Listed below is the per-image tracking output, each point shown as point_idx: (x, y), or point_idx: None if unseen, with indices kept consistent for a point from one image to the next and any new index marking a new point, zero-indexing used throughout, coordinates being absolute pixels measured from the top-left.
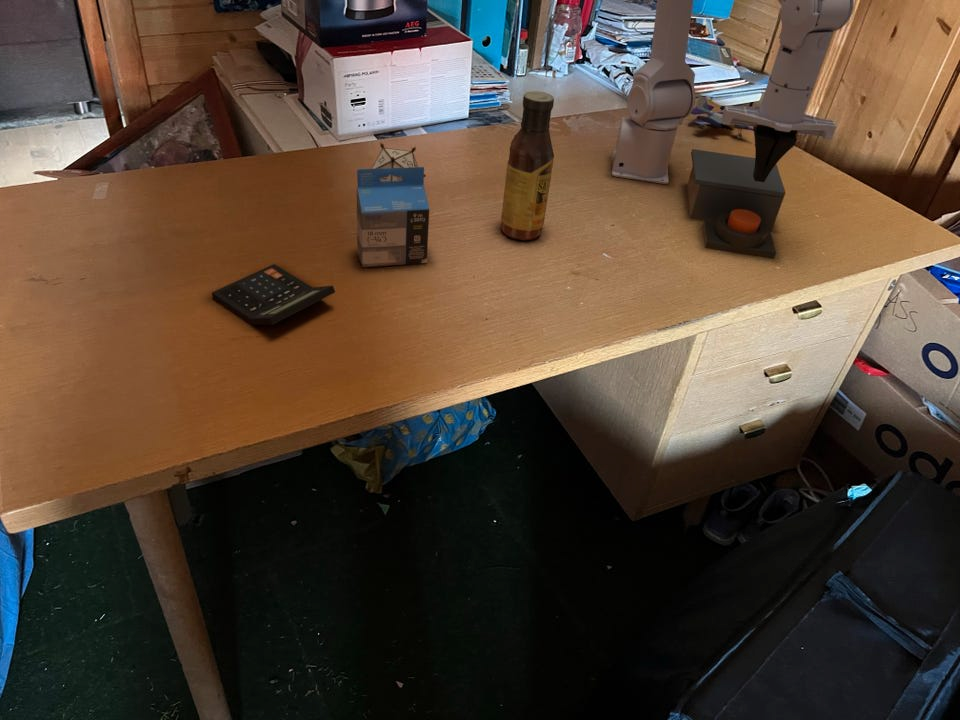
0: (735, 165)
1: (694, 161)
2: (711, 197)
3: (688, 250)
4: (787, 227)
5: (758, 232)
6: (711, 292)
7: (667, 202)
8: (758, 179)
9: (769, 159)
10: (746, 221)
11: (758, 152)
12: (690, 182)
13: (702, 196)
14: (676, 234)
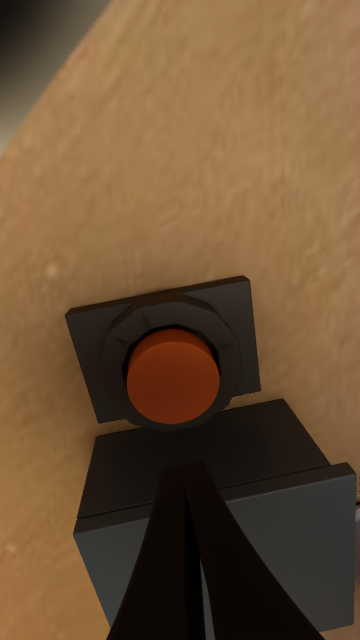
0: None
1: (353, 568)
2: (274, 448)
3: (283, 244)
4: (63, 472)
5: (123, 348)
6: (211, 19)
7: (333, 443)
8: (192, 470)
9: (186, 604)
10: (168, 353)
11: (316, 632)
12: None
13: (297, 443)
14: (314, 311)
